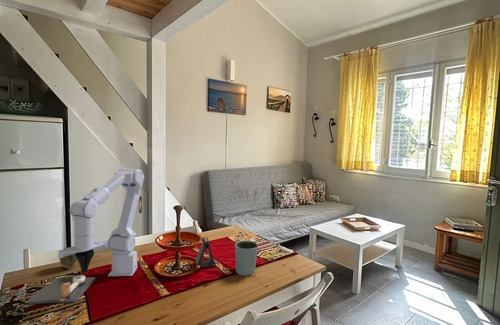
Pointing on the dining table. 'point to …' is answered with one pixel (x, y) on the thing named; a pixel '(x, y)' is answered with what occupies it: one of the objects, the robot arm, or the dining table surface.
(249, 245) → the green tumbler
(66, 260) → the cup
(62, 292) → the lever
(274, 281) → the dining table surface
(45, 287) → the lock base
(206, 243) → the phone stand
